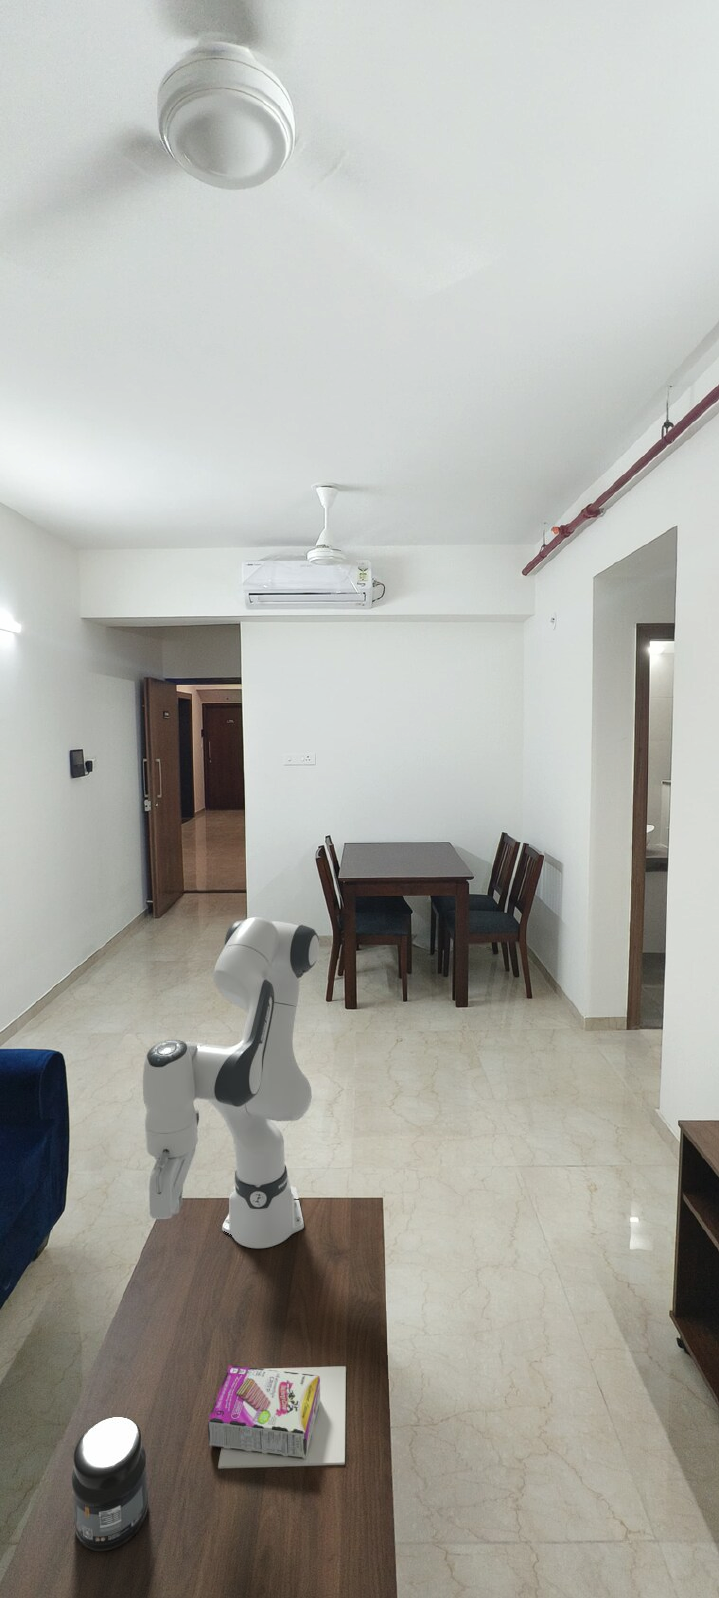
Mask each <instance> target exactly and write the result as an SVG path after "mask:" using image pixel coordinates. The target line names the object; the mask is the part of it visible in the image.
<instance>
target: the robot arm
mask: <svg viewBox="0 0 719 1598" xmlns="http://www.w3.org/2000/svg"><path fill="white" fill-rule="evenodd" d="M319 953H320V939H319V935H318V933H317V932H316V930H315V929H314V928H312V927H310V926H307V925H303V924H300V925H297V924H294V923H291V922H286V921H278V920H273V921H270V920H268V919H266V918H264V917H259V916H252V917H248V918H246V919H240V920H237V921H235V922H234V923H233V924H231V925H230V926H229V927H228V929H227V931H226V934H225V939H224V947H223V948H222V951H221V953H220V954H219V957H218V958H217V960H216V963H215V966H214V971H213V980H214V983H215V986H216V988H217V990H218V992H219V993H220V994H221V996H222V997H223V998H225V999H226V1000H227V1001H228V1002H229V1003H230V1004H233V1005H234V1006H236V1007H239V1008H240V1009H243V1010H244V1011H245V1012H246V1013H247V1016H246V1020H245V1024H244V1028H243V1032H242V1036H241V1040H240V1041H239V1043H236V1044H235V1045H232V1046H229V1045H228V1046H226V1045H220V1044H219V1045H218V1044H210V1043H206V1042H197V1041H183V1040H179V1039H169V1040H164V1041H161V1042H159V1043H156V1044H155V1045H153V1046H152V1047H151V1048H150V1049H149V1050H148V1051H147V1053H146V1055H145V1059H144V1064H143V1074H142V1097H143V1098H142V1099H143V1104H144V1107H145V1110H146V1113H145V1114H146V1115H145V1117H144V1131H145V1132H144V1133H145V1148H146V1152H147V1153H148V1154H149V1155H150V1156H152V1157H154V1159H155V1160H156V1161H155V1163H154V1165H153V1168H152V1170H151V1173H150V1177H149V1178H150V1179H149V1186H148V1188H149V1189H148V1191H149V1192H148V1193H149V1201H148V1202H149V1204H148V1206H149V1216H150V1218H152V1220H167V1219H171V1218H172V1217H173V1215H177V1214H179V1213H180V1210H181V1207H182V1203H183V1191H184V1184H185V1181H186V1178H187V1176H188V1173H189V1171H190V1167H191V1165H192V1162H193V1159H194V1157H195V1152H196V1148H197V1144H198V1140H199V1139H198V1138H199V1137H198V1127H199V1122H200V1110H199V1109H195V1106H194V1101H195V1100H197V1099H199V1100H205V1101H207V1102H208V1103H209V1104H210V1105H212V1106H213V1107H214V1108H215V1109H216V1110H217V1111H218V1113H219V1114H220V1115H221V1117H222V1118H223V1120H224V1122H225V1124H226V1126H227V1128H228V1131H229V1132H230V1134H231V1138H232V1140H233V1145H234V1155H235V1167H236V1169H235V1172H234V1186H233V1189H232V1192H231V1193H230V1195H229V1198H228V1200H229V1201H228V1207H229V1208H228V1214H227V1216H226V1218H225V1220H224V1222H223V1224H222V1228H221V1230H222V1231H223V1232H224V1231H225V1232H227V1233H229V1234H228V1235H230V1234H231V1235H232V1236H231V1235H230V1236H231V1237H232V1238H233V1239H234V1241H235V1242H236V1243H238V1244H239V1245H240V1246H244V1247H246V1248H251V1249H266V1248H267V1249H268V1248H270V1247H271V1248H272V1247H274V1246H277V1245H279V1244H281V1243H283V1242H285V1241H286V1240H287V1239H288V1238H290V1237H291V1236H292V1235H293V1234H295V1233H297V1232H299V1231H301V1230H303V1229H304V1228H305V1224H304V1218H303V1213H302V1208H301V1205H300V1197H299V1193H298V1190H297V1187H296V1186H292V1185H291V1183H290V1178H289V1175H288V1169H287V1165H286V1164H285V1163H286V1162H285V1139H284V1136H283V1134H282V1132H281V1130H280V1128H278V1126H276V1124H274V1123H273V1122H272V1121H276V1122H297V1121H299V1120H300V1119H301V1118H303V1117H304V1116H305V1115H306V1114H307V1112H308V1110H309V1108H310V1106H311V1102H312V1097H313V1094H312V1087H311V1084H310V1082H309V1080H308V1078H307V1077H306V1076H305V1075H304V1073H303V1072H302V1070H301V1069H300V1067H299V1064H298V1063H297V1060H296V1057H295V1053H294V1045H293V1044H294V1043H293V1039H294V1038H293V1037H294V1029H295V1028H294V1027H295V1020H296V1014H297V1007H298V1001H299V992H300V979H301V977H302V976H304V974H305V973H307V972H309V971H310V970H311V969H312V968H313V967H314V966H315V964H316V962H317V960H318V957H319ZM294 1199H299V1200H294ZM225 1232H224V1233H225ZM227 1233H226V1234H227Z"/></svg>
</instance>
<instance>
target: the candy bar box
mask: <svg viewBox="0 0 719 1598" xmlns="http://www.w3.org/2000/svg"><path fill="white" fill-rule="evenodd" d="M266 1369H267V1368H256V1367H247V1366H239V1365H238V1366H237V1365H231V1364H230V1365H229V1366H228V1368H227V1371H226V1374H225V1376H224V1379H223V1381H222V1383H221V1386H220V1389H219V1392H218V1394H217V1397H216V1399H215V1401H214V1405H213V1407H212V1409H211V1413H210V1415H209V1417H208V1419H207V1431H208V1432H207V1433H208V1434H207V1435H208V1436H207V1437H208V1447H214V1448H220V1449H221V1448H227V1449H236V1450H243V1451H250V1452H258V1453H265V1454H273V1455H281V1456H287V1457H294V1458H302V1459H306V1456H307V1453H308V1449H309V1444H310V1440H311V1436H312V1432H313V1428H314V1423H315V1419H316V1415H317V1411H318V1407H319V1403H320V1377H319V1375H309V1374H301V1373H292V1372H284V1371H274V1370H266Z"/></svg>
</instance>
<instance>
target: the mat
mask: <svg viewBox="0 0 719 1598" xmlns="http://www.w3.org/2000/svg"><path fill="white" fill-rule="evenodd" d="M265 1369H266V1370H274V1371H284V1372H292V1373H301V1374H309V1375H319V1377H320V1403H319V1407H318V1411H317V1415H316V1419H315V1423H314V1428H313V1432H312V1436H311V1440H310V1444H309V1449H308V1453H307V1456H306V1459H302V1458H294V1457H287V1456H281V1455H273V1454H265V1453H258V1452H250V1451H243V1450H236V1449H227V1448H220V1449H221V1450H220V1454H219V1460H218V1465H217V1468H218V1469H247V1468H250V1469H251V1468H274V1467H275V1468H277V1467H278V1468H280V1467H281V1468H282V1467H310V1466H313V1467H315V1466H344V1465H346V1395H347V1394H346V1393H347V1392H346V1388H347V1387H346V1386H347V1384H346V1383H347V1382H346V1381H347V1380H346V1379H347V1375H346V1374H347V1367H346V1366H345V1365H344V1366H311V1367H307V1366H306V1367H281V1368H280V1367H277V1368H275V1367H274V1368H273V1367H272V1368H265Z"/></svg>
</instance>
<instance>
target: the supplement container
mask: <svg viewBox="0 0 719 1598" xmlns="http://www.w3.org/2000/svg"><path fill="white" fill-rule="evenodd" d="M141 1432H142V1431H141V1429H140V1428H139V1425H138V1424H137V1423H136V1422H135V1420H131V1419H130V1418H127V1417H124V1416H113V1417H109V1418H105V1419H102V1420H100V1421H98V1422H97V1423H94V1424H93V1425H91V1426H90V1427H89V1428H88V1429H87V1430H86V1431H84V1433H83V1434H82V1435H81V1437H80V1439H79V1440H78V1441H77V1443H76V1446H75V1448H74V1452H73V1457H72V1458H73V1459H72V1460H73V1468H72V1471H71V1478H70V1479H71V1480H70V1483H71V1489H72V1497H73V1511H74V1512H73V1514H74V1529H75V1533H76V1537H77V1538H78V1539H79V1542H80V1543H81V1544H82V1545H83V1547H85V1548H87V1549H89V1550H93V1551H96V1552H97V1551H98V1552H99V1551H100V1552H102V1551H103V1552H104V1551H111V1550H113V1549H115V1548H118V1547H120V1546H122V1545H123V1544H125V1543H126V1542H128V1541H129V1540H130V1539H131V1538H132V1537H134V1535H135V1534H136V1533H137V1531H138V1530H139V1529H140V1528H141V1526H142V1525H143V1523H144V1520H145V1519H146V1517H147V1516H146V1515H147V1512H148V1509H149V1492H148V1482H147V1481H148V1479H147V1451H146V1449H145V1446H144V1444H143V1442H142V1441H143V1440H142V1439H143V1438H142V1433H141Z"/></svg>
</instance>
